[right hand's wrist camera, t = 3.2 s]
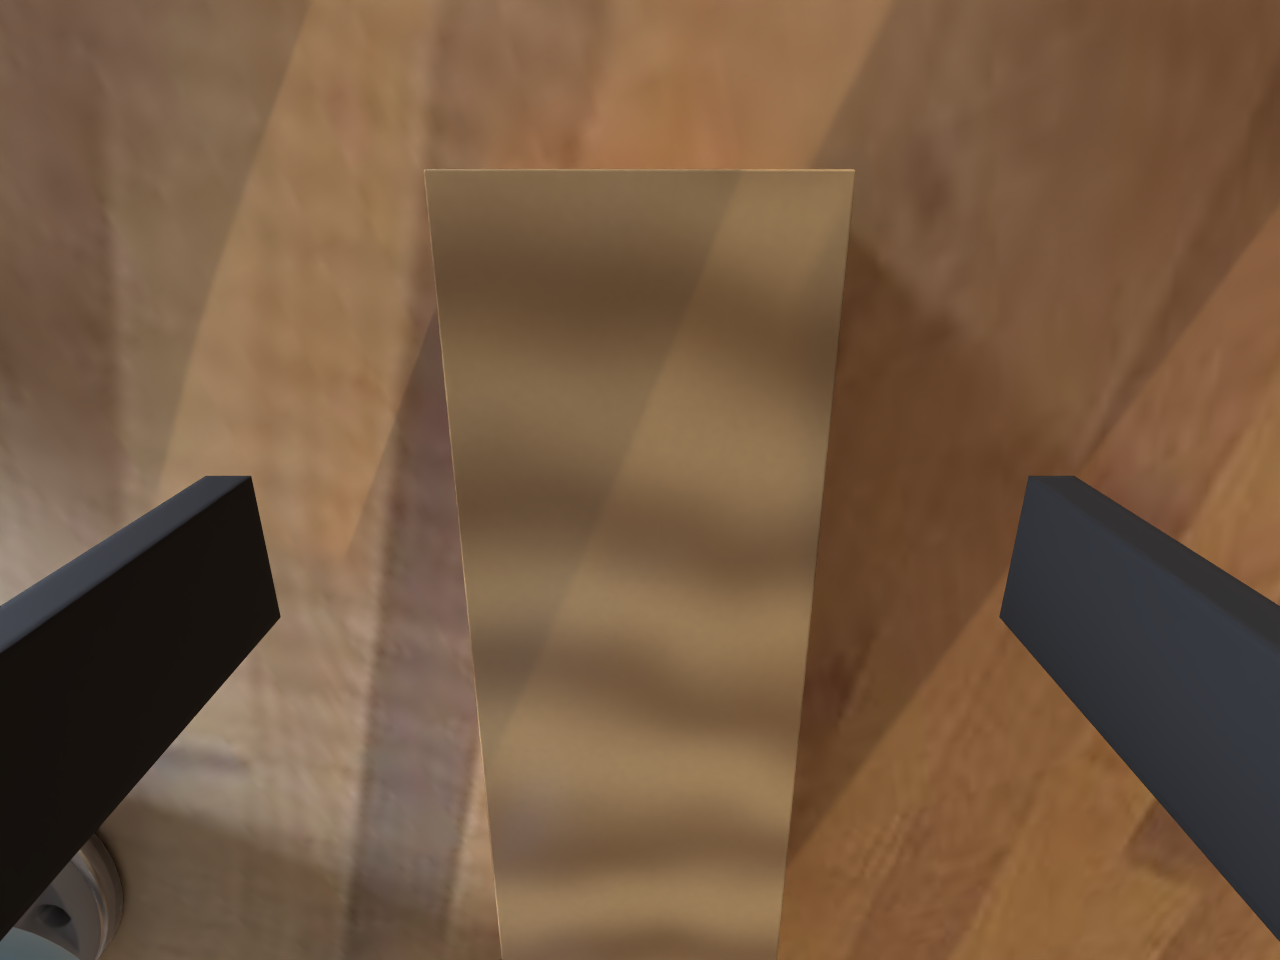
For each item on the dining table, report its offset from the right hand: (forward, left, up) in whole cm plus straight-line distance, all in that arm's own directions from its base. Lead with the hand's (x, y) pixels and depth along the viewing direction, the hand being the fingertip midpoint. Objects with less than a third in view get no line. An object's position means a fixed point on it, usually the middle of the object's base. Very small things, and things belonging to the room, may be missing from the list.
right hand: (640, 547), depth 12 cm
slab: (+13, -22, -14) cm, 29 cm away
